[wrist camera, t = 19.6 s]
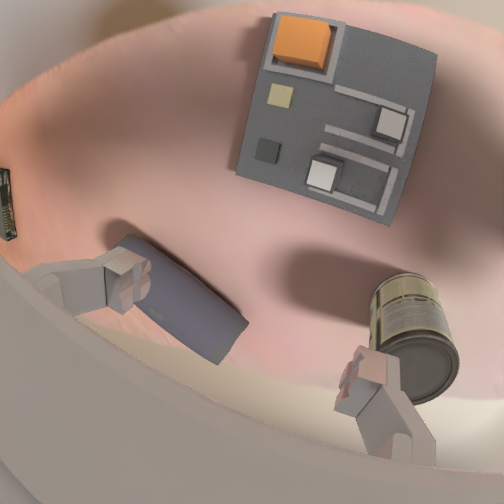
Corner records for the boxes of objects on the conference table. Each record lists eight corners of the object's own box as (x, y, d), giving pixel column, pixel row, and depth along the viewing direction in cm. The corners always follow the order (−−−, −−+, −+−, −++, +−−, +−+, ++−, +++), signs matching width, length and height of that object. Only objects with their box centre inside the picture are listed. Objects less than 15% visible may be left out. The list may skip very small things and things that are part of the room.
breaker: (344, 161, 32) (340, 165, 27) (337, 185, 33) (331, 195, 28) (319, 153, 33) (310, 156, 28) (312, 177, 34) (302, 185, 29)
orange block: (331, 33, 27) (327, 22, 23) (323, 70, 29) (317, 62, 25) (290, 26, 28) (281, 15, 24) (281, 61, 30) (271, 53, 27)
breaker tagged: (402, 118, 28) (410, 114, 23) (395, 143, 29) (402, 144, 24) (377, 109, 28) (380, 103, 23) (370, 134, 30) (372, 133, 25)
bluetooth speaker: (134, 262, 53) (96, 286, 44) (148, 222, 48) (106, 243, 39) (233, 340, 51) (207, 378, 42) (260, 306, 46) (234, 346, 37)
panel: (434, 58, 25) (439, 52, 22) (388, 222, 35) (390, 229, 32) (277, 18, 29) (270, 9, 27) (241, 172, 39) (231, 175, 36)
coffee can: (446, 320, 36) (464, 390, 24) (383, 343, 41) (380, 415, 29) (427, 259, 34) (450, 320, 22) (358, 288, 39) (350, 355, 27)
